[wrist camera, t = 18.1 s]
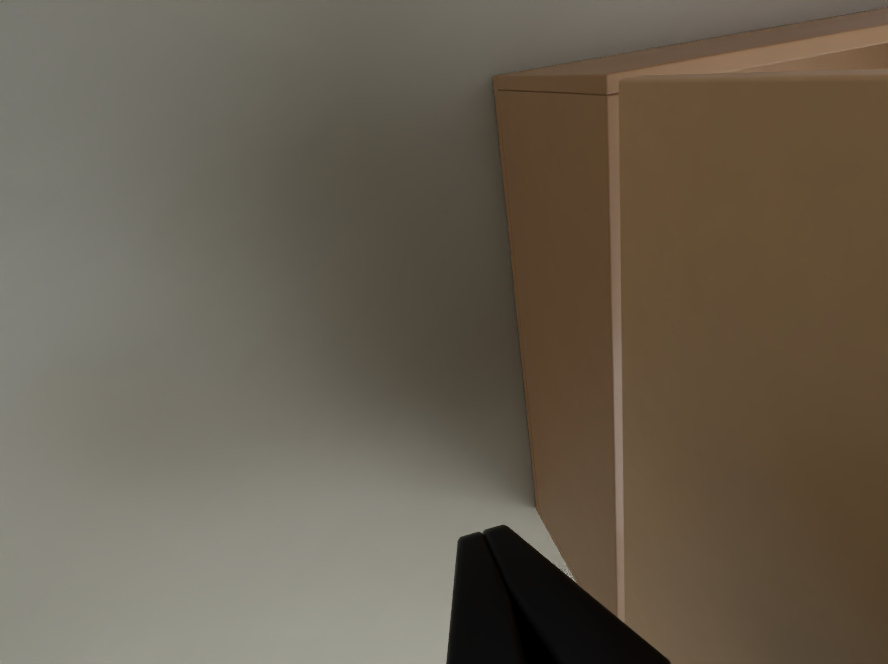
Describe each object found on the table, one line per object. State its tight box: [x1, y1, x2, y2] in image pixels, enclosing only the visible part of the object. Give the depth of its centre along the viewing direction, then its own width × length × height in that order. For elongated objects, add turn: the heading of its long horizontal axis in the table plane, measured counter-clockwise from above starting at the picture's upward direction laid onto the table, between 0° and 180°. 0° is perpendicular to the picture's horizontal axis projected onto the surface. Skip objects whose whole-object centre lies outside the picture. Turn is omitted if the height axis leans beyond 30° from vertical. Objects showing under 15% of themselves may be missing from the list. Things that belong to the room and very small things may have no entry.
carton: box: [493, 7, 888, 623], centre depth 15 cm, size 15×14×6 cm
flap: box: [619, 69, 888, 664], centre depth 8 cm, size 7×14×1 cm
